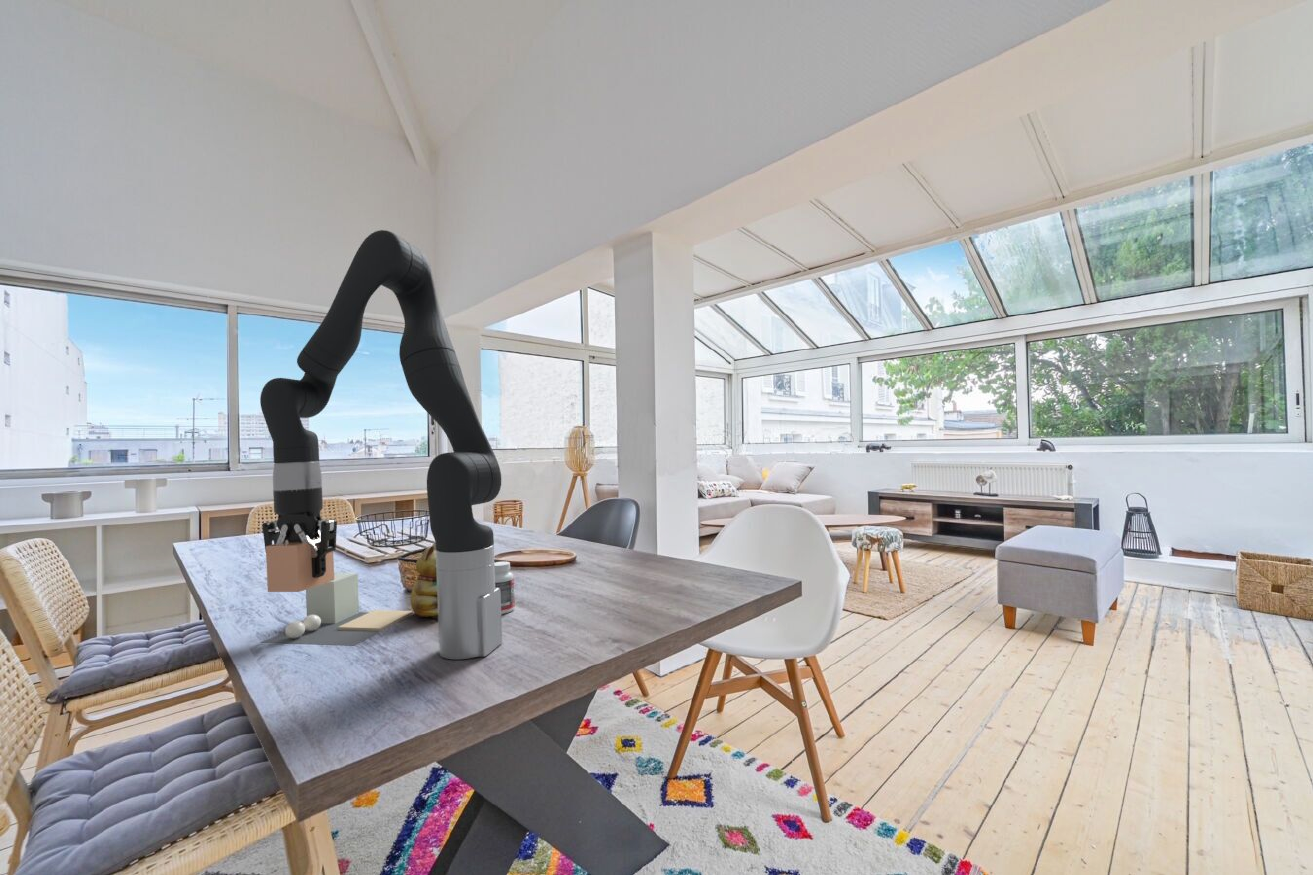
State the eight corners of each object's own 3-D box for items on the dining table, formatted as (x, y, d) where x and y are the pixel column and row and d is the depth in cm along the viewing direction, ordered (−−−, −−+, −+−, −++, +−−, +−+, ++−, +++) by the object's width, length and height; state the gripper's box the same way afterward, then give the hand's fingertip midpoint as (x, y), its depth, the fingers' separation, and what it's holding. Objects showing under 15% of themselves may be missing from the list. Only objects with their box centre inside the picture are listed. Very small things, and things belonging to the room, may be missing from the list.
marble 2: (325, 628, 102) (324, 612, 102) (312, 634, 99) (312, 617, 99) (311, 628, 103) (311, 612, 103) (298, 633, 100) (298, 617, 100)
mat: (415, 615, 109) (414, 611, 109) (354, 647, 92) (354, 642, 92) (333, 613, 113) (333, 609, 113) (260, 644, 96) (260, 639, 96)
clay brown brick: (334, 579, 102) (332, 537, 102) (298, 592, 94) (296, 545, 94) (305, 580, 103) (303, 537, 103) (267, 592, 95) (265, 546, 95)
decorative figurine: (443, 623, 104) (440, 546, 104) (401, 624, 104) (398, 547, 104) (461, 607, 113) (459, 537, 113) (423, 609, 113) (420, 538, 113)
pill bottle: (518, 611, 109) (516, 563, 109) (492, 617, 106) (490, 568, 106) (510, 605, 114) (508, 559, 114) (484, 610, 111) (483, 563, 111)
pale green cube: (358, 612, 111) (357, 573, 111) (335, 623, 105) (333, 581, 105) (331, 612, 112) (330, 573, 112) (307, 622, 106) (305, 581, 106)
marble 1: (309, 635, 98) (308, 619, 98) (295, 641, 95) (295, 624, 95) (295, 635, 99) (294, 618, 99) (281, 641, 96) (280, 624, 96)
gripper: (347, 483, 102) (351, 571, 101) (281, 486, 104) (285, 572, 104) (315, 487, 94) (319, 582, 94) (246, 490, 97) (250, 582, 96)
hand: (301, 576), depth 99 cm, fingers closed on clay brown brick, 6 cm apart
